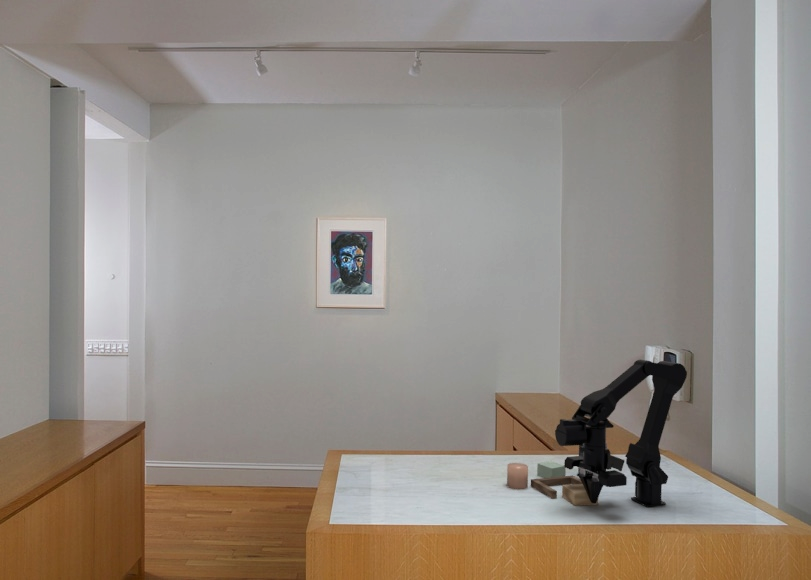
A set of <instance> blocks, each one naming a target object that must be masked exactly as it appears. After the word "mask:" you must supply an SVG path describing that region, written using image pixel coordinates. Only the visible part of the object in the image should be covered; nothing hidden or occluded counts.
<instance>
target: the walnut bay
mask: <svg viewBox="0 0 811 580" xmlns="http://www.w3.org/2000/svg"><path fill="white" fill-rule="evenodd" d="M574 484H582V482H581V480H580V478H579V477H578V476H577V477H576V476H574V475H565V476H561V477H551V478H542V477H539V478H533V479H530V487H531V488H532V489H534V490H536V491H538V492H539V493H542V494H544V495H545V496H547V497H548V498H550V499H552V500H554V499H557V496H558V495H557V494H558V492H557V490H556V489H555V488H552V487H555V486H562V485H574Z"/></svg>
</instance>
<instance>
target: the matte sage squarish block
mask: <svg viewBox="0 0 811 580" xmlns="http://www.w3.org/2000/svg"><path fill="white" fill-rule="evenodd" d="M566 470H567V468H566V467H564V464H561V463H558V462H555V461H552V460H550V461H545V462H543V461H542V462H540V463H537V470H536V471H537V474H536V475H537V477H539V478H551V477H561V476H566Z"/></svg>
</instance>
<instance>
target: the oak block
mask: <svg viewBox="0 0 811 580" xmlns="http://www.w3.org/2000/svg"><path fill="white" fill-rule="evenodd" d="M561 486H562V487H561V488H562V491H561V497H562V498H563V499H564V500H566V501H567V502H569V503H570V504H572V505H573V506H575V507H576V506H591V505H593V506H594V505H595V506H596V505H598V506H599V498H598V499H597V502H596V503H594V504H593V503H591V501H590V499H589V497H588V495H587V492H586V490H585V488H584V486H583V484H574V485H572V484H567V485H561Z"/></svg>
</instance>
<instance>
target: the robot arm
mask: <svg viewBox="0 0 811 580" xmlns="http://www.w3.org/2000/svg"><path fill="white" fill-rule="evenodd" d="M649 376H652V377H651V378H652V379H651V380H652V386H653V393H652V397H651V401H650V405H649V407H648V411H647V413H646V418H645V420H644V424H643V427H642V430H641V434H640V437H639V440H637V441H636V442H635V444H634V443H632V442H630V443H629V445H628V449H627V452H626V454H625V456H624V457H625V458H626V460H625V459H622V458H619V457H617V456H616V455H615V456H614V455H611V451H610V449H609V448H607V449H606V443H607V429H612V428H614V425H613V423H612V422H611V421H609V419H608V418H609V417H610V415H612V413H613V412H614V411H615V410H616V407H617V405H618V403H619V401H620V400H622V399H623V398H624V397H625V396H626V395H628V394H629V393H630V392H631V391H633V390H634V389H635V388H636V387H637V386H638V385H639V384H641V383H642V382H644V380H645V379H647V378H648V377H649ZM687 376H688V371H687V370H686V367H685V366H684V365H683V364H682V363H677V362H673V361H666V360H665V361H664V360H661V361H658V362H652V360H651V361H650V360H647V359H646V360H645V359H638V360H635V361H634V363H633V364H632V365H631V366H629V368H627V369H626V370H625V371H624V372H622V373H621V374H620V375H619V376H617V377H616V378H615V379H613V380H612V381H611V382H610V383H609V384H608V385H606V386H605V387H604V388H602V389H600V390H595V391H593V392H591V393H589V394H588V395H586V396H584V397H583V398H581V401H580V405H579V407H577V410H576V411H575V413H574V414H573V416H572V417H571V419H566V418H560V419H559V423H558V424H557V426H556V428H555V431H554V436H555V440H556V443H557V444H558V445H559V446H560V447H569V446H570V447H571V446H579V445H582V444H583V446H580V450H581V451H583V457H582V456H579V455H576V456H575V455H573V456H567V457H566V458H565V459H564V463H563V465H564V467H566V469H568V470H572V469H574V467H577V468H578V467H579V469H580V473H579V474H578V473H577V474H576V475H577V477H578V478H579V479H580V480H581V482H582V484H583V486H584V488H585V490H586V492H587V495H588V497H589V499H590V501H591V503H593V504H594V503H596V502H597V499H598V500H599V496H600V494H601V491H602V490H603V488H604V486H605V487H607V488H612V487H613V488H615V487H624V486H627V483H628V480H627V479H628V478H627V476H626V475H625V474H624V473H622V471H623V467H624V464H625V463H626V465H627V467H628V469H629V471H630V474H631V476H632V477H635V483H634V485H635V486H634V489H635V490H634V496H631V497H630V499H631V500H632V501H634V502H636V503H638V504H641V505H642V506H644V507H646V508H647V507H648V508H649V507H650V508H651V507H657V506H659V507H660V506H665V505H667V503H666V502H665V501H663V500H662V486H663V485H667V483H668V479H669V475H667V473H666V472H665V471H664V470H663V469H662V468H661V461H662V457H661V453H660V448H659V445H660V442H661V440H662V439H661V438H662V435H663V431H664V428H665V425H666V423H667V422H666V421H667V418H668V414H669V411H670V408H671V405H672V401H673V397H674V396H675V395H676V394H677V393H678V392H680V390H681V389H682V388H683V386H684V384H685V382H686V379H687V378H688V377H687ZM605 469H606V471H605ZM612 469H615V470H612ZM597 471H598V472H597Z"/></svg>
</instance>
